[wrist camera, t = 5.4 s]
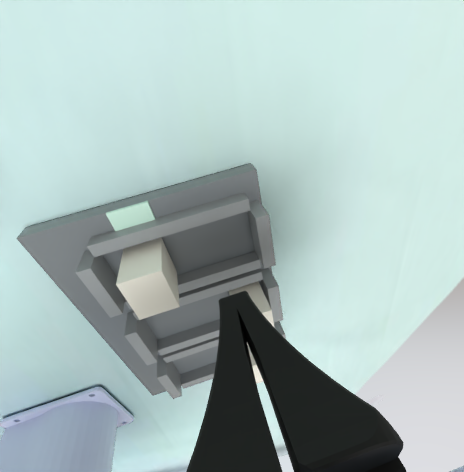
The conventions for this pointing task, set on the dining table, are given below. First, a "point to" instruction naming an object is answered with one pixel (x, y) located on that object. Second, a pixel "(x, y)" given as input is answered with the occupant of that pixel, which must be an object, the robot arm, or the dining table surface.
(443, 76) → the dining table surface
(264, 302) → the tab
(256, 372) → the tab
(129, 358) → the switch bank
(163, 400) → the dining table surface
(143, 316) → the tab
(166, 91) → the dining table surface
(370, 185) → the dining table surface
